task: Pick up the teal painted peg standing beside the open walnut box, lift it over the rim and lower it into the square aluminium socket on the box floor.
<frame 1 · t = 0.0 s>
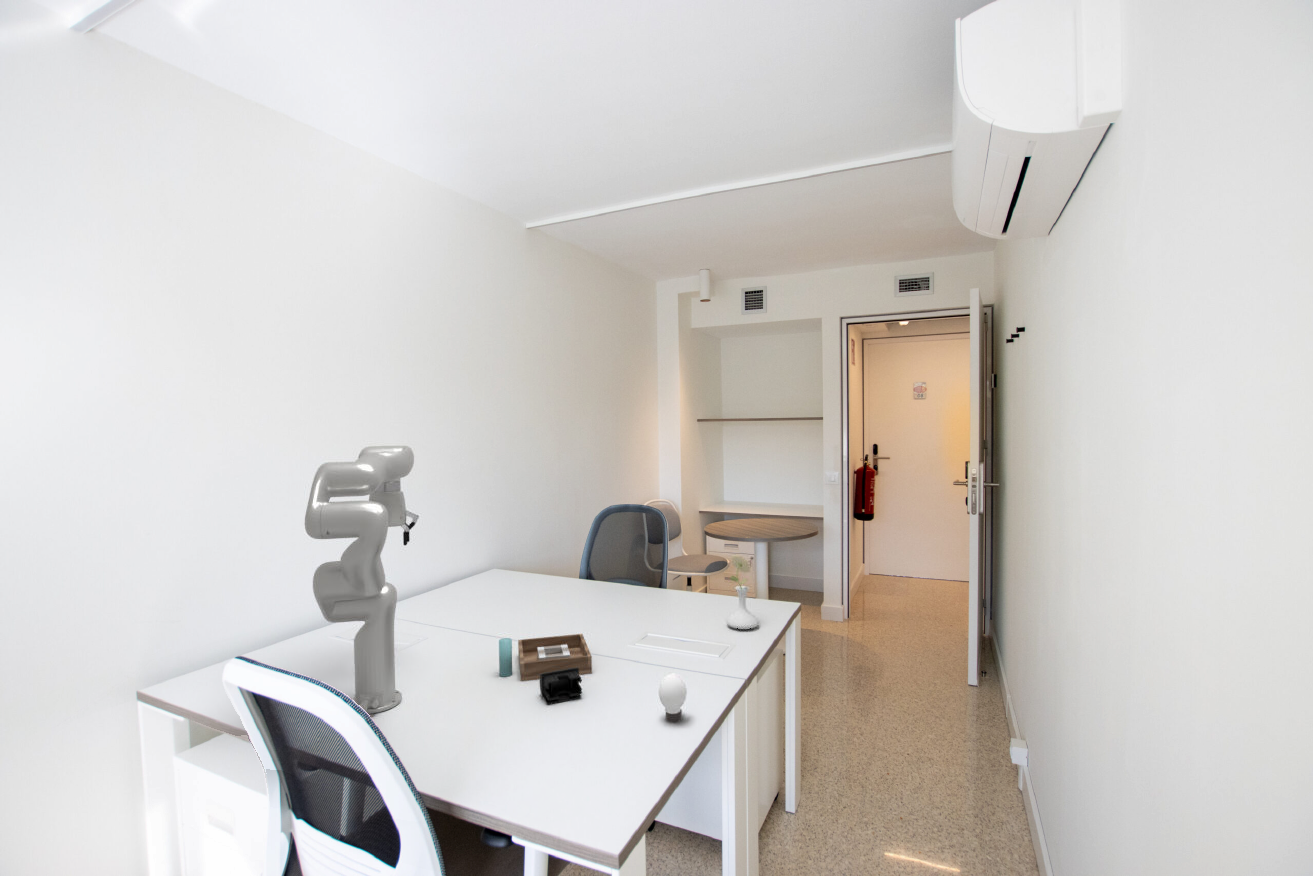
hand: (388, 545, 185), 37 cm above the table, tool pointing down, fingers open, 9 cm apart
box: (553, 664, 188), on the table
light bulb: (672, 719, 152), on the table
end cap: (561, 697, 166), on the table
peg: (505, 674, 180), on the table
flower in vase: (741, 626, 221), on the table
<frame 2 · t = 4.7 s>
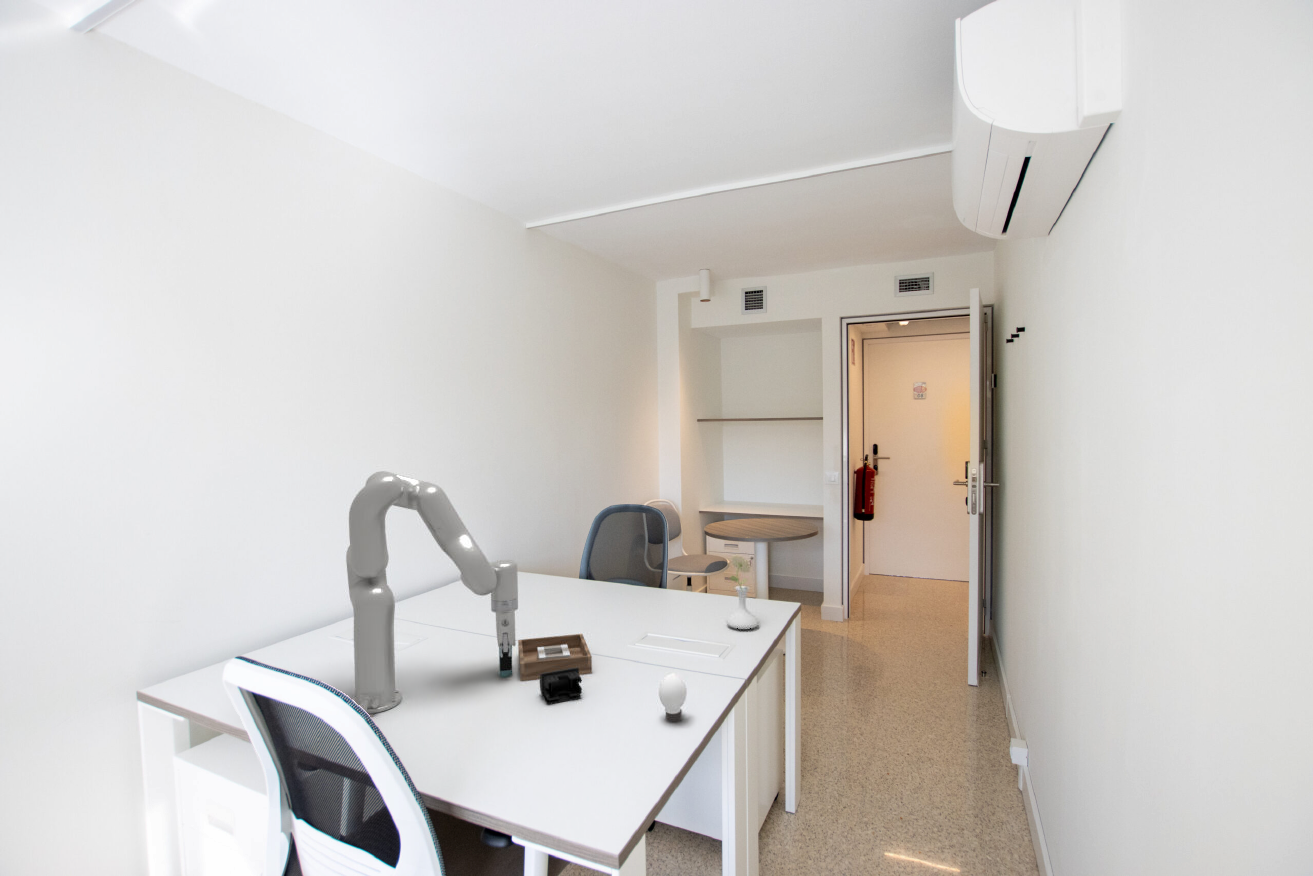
hand: (505, 666, 180), 2 cm above the table, tool pointing down, fingers closed on peg, 3 cm apart
peg: (505, 674, 180), on the table, touching gripper
everything else where it was.
when the fingers open (5 cm above the table, at t = 9.5 s): peg drops 2 cm, resting on box.
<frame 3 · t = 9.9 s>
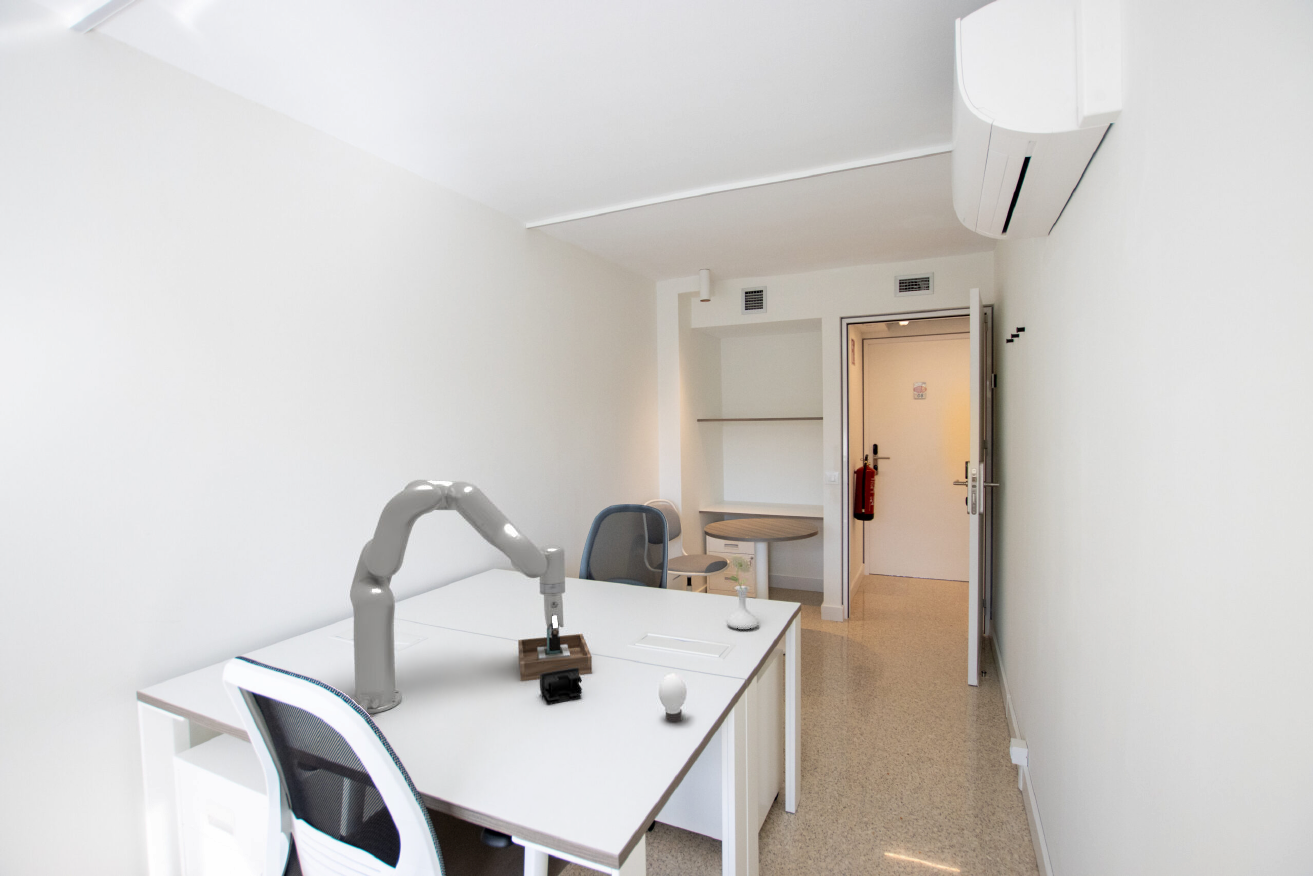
hand: (553, 645, 188), 6 cm above the table, tool pointing down, fingers open, 7 cm apart
peg: (553, 660, 188), point 1 cm above the table, touching box
everything else where it was.
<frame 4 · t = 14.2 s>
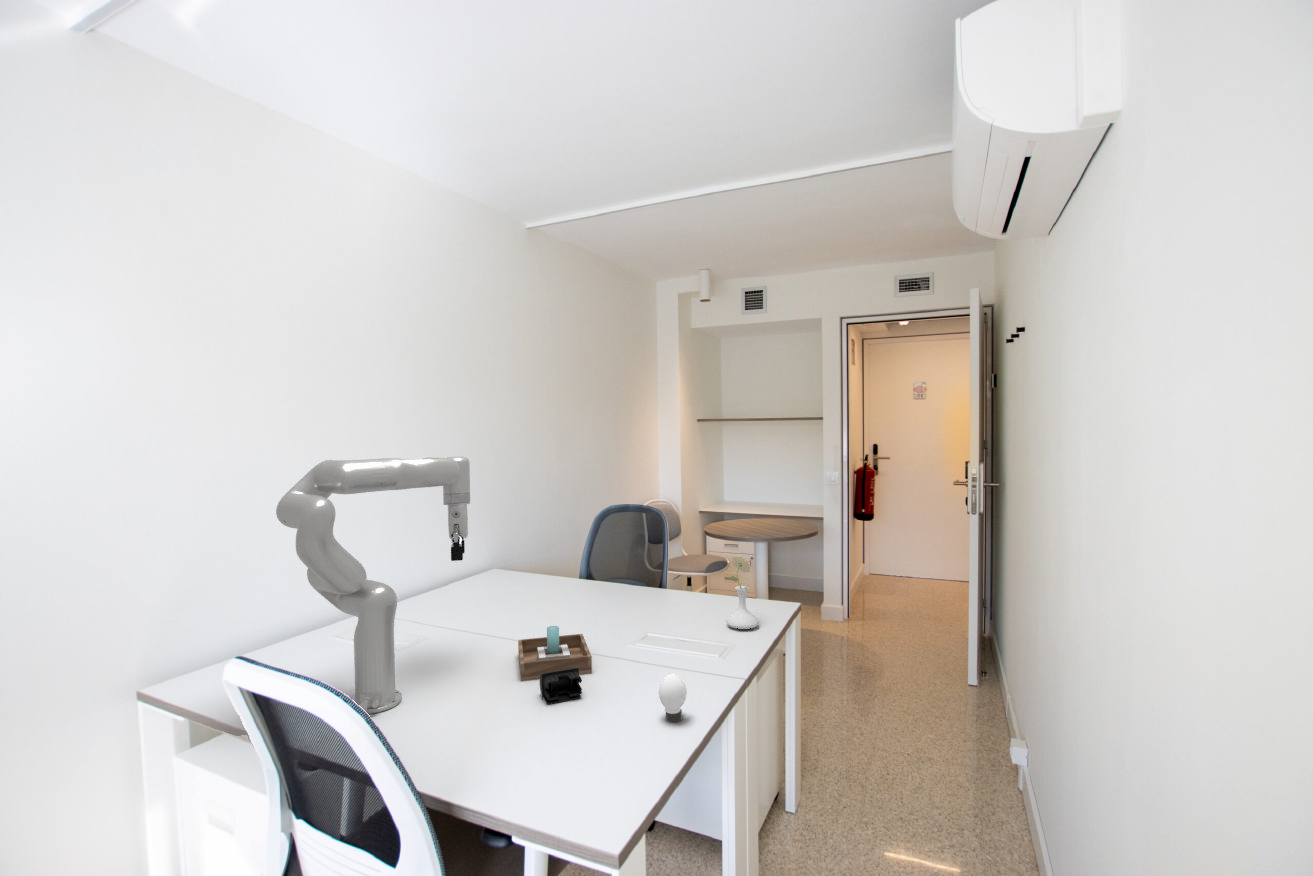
hand: (458, 556, 184), 33 cm above the table, tool pointing down, fingers open, 9 cm apart
nothing on the table moved.
at the end: peg 0.0 cm off-centre on the box, point 1.0 cm above the box's base; peg tilted 0°; the gripper is holding nothing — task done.
